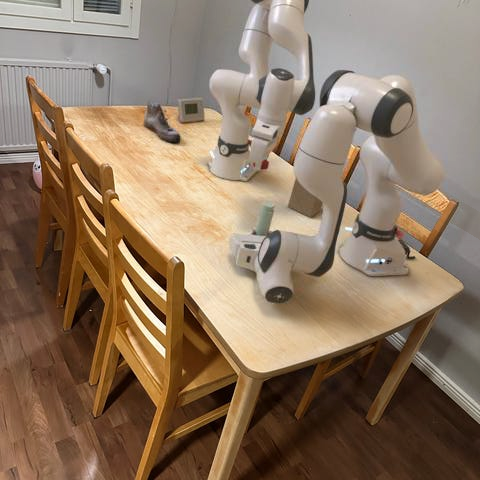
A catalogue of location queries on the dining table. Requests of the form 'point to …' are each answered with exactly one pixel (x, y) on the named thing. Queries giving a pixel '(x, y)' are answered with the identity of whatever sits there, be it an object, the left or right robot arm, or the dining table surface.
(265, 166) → the lid
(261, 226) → the green cylinder
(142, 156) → the dining table surface
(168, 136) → the shoe
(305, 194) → the wooden block
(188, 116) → the digital clock
